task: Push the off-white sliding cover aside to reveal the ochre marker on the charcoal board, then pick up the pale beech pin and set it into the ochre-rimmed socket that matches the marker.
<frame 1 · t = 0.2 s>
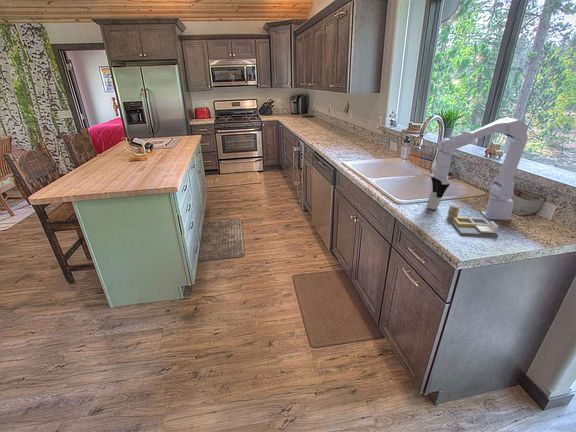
hand: (437, 194, 141), 10 cm above the worktop, fingers open, 7 cm apart
pin: (451, 218, 140), on the worktop
cover: (486, 226, 125), point 3 cm above the worktop, slide at 0.0 cm
skincare box: (431, 208, 151), on the worktop, touching gripper
board: (472, 228, 130), on the worktop
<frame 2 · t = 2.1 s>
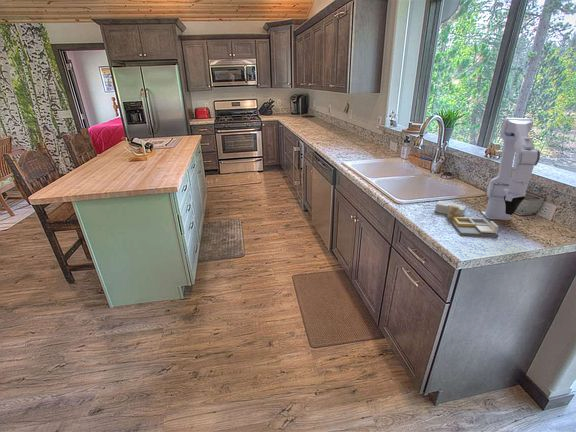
hand: (509, 213, 122), 9 cm above the worktop, fingers closed
skincare box: (436, 206, 149), point 2 cm above the worktop
everything else where it was.
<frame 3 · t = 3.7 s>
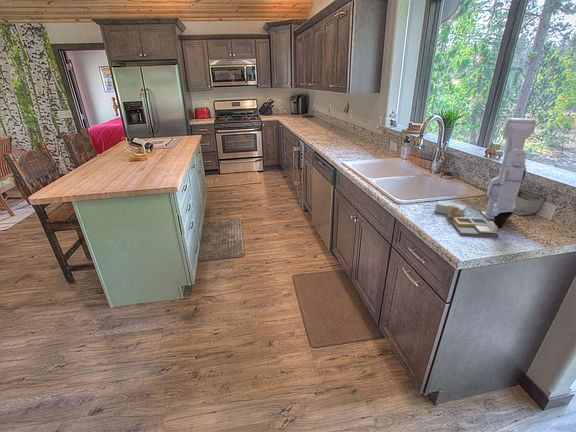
hand: (498, 227, 125), 3 cm above the worktop, fingers closed
cover: (485, 226, 125), point 3 cm above the worktop, slide at 0.3 cm, touching gripper
everything else where it was.
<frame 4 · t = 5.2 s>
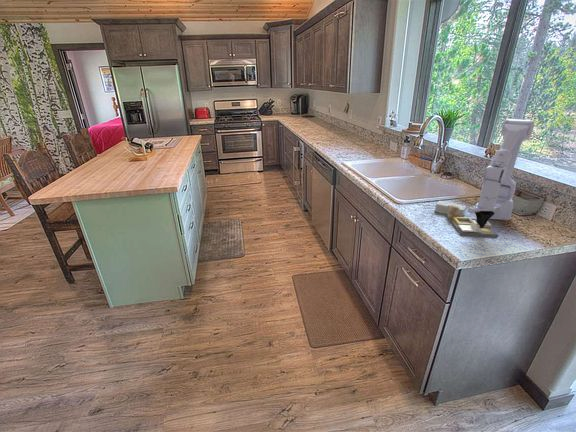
hand: (480, 226, 126), 3 cm above the worktop, fingers closed
cover: (468, 225, 126), point 3 cm above the worktop, slide at 7.0 cm, touching gripper
everything else where it was.
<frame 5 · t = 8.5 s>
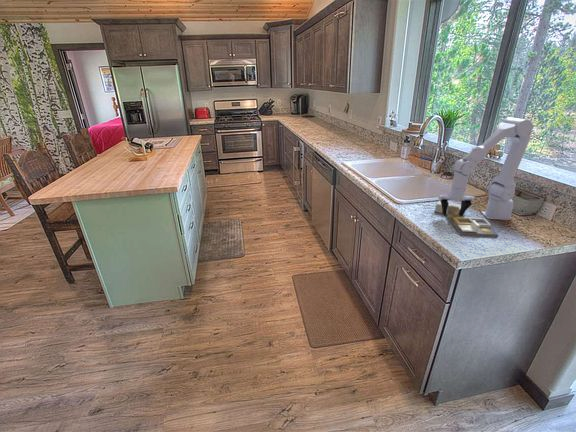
hand: (452, 215, 140), 2 cm above the worktop, fingers open, 7 cm apart
cover: (468, 225, 126), point 3 cm above the worktop, slide at 7.0 cm
skincare box: (436, 206, 149), point 2 cm above the worktop, touching gripper
everything else where it was.
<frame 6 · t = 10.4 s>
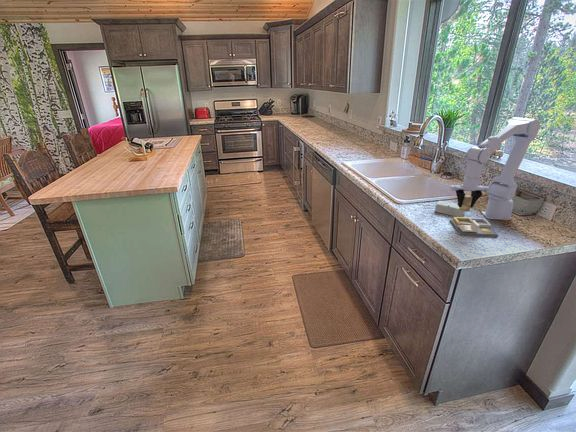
hand: (465, 206, 132), 8 cm above the worktop, fingers closed on pin, 4 cm apart
pin: (464, 209, 132), point 7 cm above the worktop, touching gripper
skincare box: (436, 206, 149), point 2 cm above the worktop
everything else where it was.
when the fingers open (4 cm above the worktop, at t = 11.8 s): pin stays where it is, resting on board.
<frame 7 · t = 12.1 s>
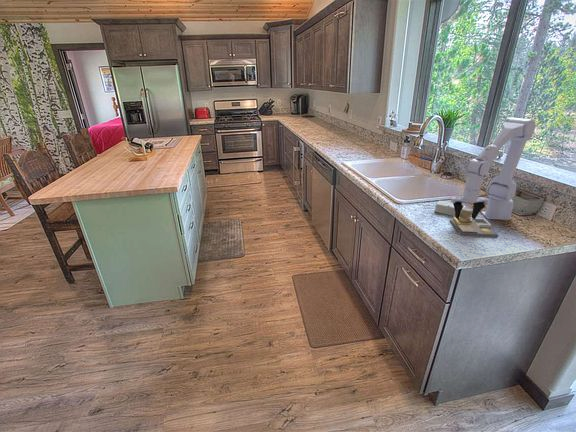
hand: (465, 217, 132), 4 cm above the worktop, fingers open, 6 cm apart
pin: (463, 222, 133), point 1 cm above the worktop, touching board
everything else where it was.
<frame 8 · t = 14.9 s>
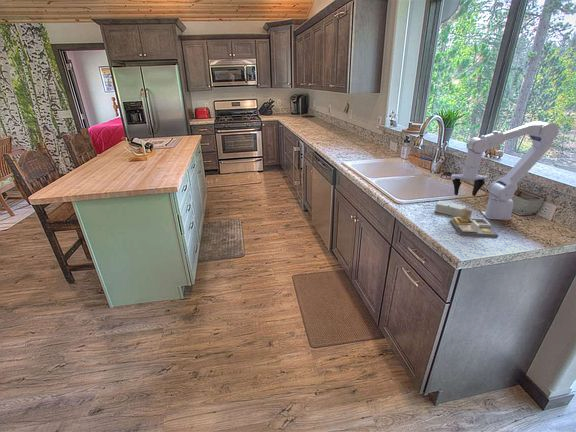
hand: (464, 194, 139), 10 cm above the worktop, fingers open, 7 cm apart
nothing on the worktop moved.
at the end: cover slide at 7.0 cm; pin 0.0 cm from the target spot on the board, point 1.2 cm above the board's base; pin tilted 0° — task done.
